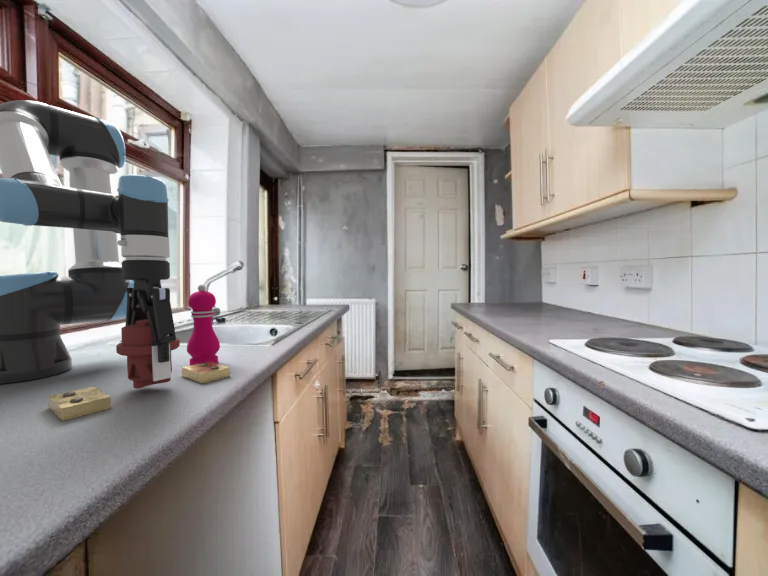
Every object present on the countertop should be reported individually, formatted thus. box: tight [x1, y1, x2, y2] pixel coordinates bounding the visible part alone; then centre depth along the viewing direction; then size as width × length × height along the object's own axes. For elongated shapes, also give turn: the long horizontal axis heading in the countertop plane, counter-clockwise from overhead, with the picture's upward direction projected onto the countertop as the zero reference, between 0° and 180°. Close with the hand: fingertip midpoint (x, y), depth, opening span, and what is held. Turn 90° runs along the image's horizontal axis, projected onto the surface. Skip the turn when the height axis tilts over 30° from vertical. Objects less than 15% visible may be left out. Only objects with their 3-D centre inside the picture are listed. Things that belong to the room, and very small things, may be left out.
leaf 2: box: [181, 362, 231, 385], centre depth 73 cm, size 9×6×2 cm, turn 55°
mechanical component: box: [115, 319, 181, 390], centre depth 64 cm, size 12×10×10 cm
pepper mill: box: [186, 284, 221, 366], centre depth 82 cm, size 7×7×20 cm
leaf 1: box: [47, 386, 112, 422], centre depth 56 cm, size 9×6×2 cm, turn 55°
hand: (150, 374), depth 65 cm, fingers closed on mechanical component, 10 cm apart
